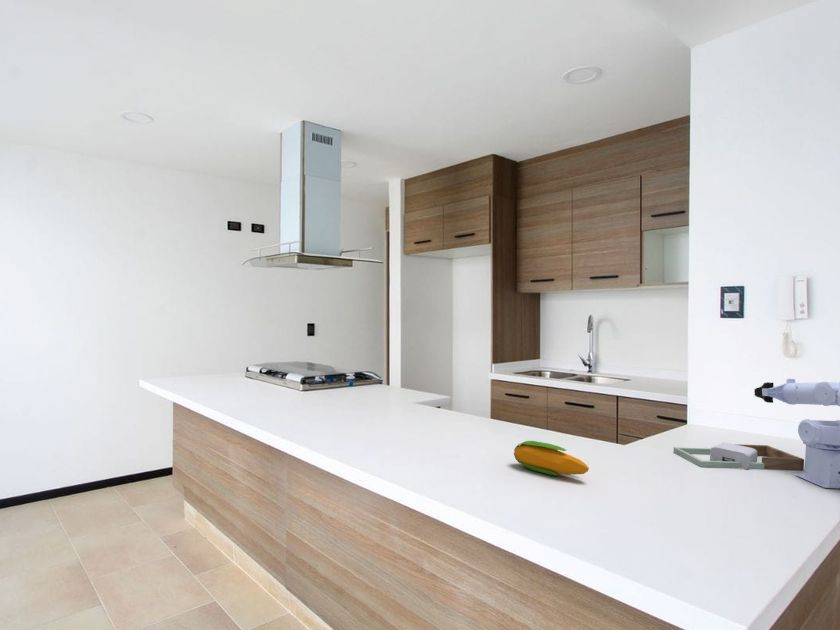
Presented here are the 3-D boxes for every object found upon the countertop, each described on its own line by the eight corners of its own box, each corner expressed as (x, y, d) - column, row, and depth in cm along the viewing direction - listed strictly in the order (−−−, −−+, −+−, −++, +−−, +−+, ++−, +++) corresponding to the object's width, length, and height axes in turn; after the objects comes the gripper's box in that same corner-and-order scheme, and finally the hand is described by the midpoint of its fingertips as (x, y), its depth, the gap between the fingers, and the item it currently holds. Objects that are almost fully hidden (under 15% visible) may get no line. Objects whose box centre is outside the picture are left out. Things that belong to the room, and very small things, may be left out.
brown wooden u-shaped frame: (803, 470, 137) (804, 459, 137) (764, 469, 137) (764, 458, 136) (766, 455, 151) (767, 445, 151) (730, 454, 151) (731, 444, 150)
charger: (762, 461, 145) (747, 471, 135) (727, 454, 152) (709, 462, 142) (763, 445, 145) (748, 454, 135) (727, 438, 152) (710, 446, 142)
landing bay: (764, 469, 137) (764, 463, 137) (700, 467, 136) (701, 461, 136) (730, 454, 151) (731, 449, 150) (673, 452, 150) (673, 447, 150)
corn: (522, 432, 135) (595, 448, 122) (522, 460, 135) (595, 478, 123) (508, 439, 129) (583, 456, 116) (508, 468, 130) (583, 488, 117)
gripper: (830, 379, 135) (791, 380, 148) (777, 377, 134) (743, 378, 148) (832, 406, 134) (793, 404, 147) (779, 403, 133) (744, 402, 147)
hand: (768, 393), depth 148 cm, fingers open, 7 cm apart
